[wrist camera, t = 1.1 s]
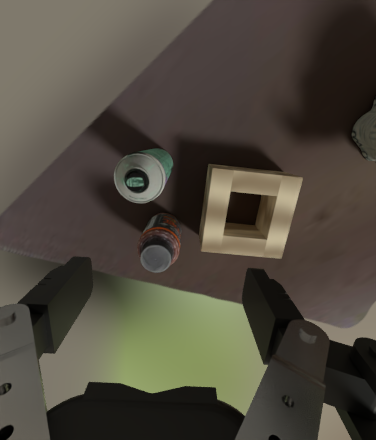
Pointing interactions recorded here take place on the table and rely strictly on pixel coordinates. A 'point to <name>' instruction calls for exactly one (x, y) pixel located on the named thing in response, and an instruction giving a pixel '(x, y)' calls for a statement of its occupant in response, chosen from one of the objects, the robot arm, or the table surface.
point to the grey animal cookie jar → (366, 134)
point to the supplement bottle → (160, 242)
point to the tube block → (266, 218)
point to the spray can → (143, 174)
